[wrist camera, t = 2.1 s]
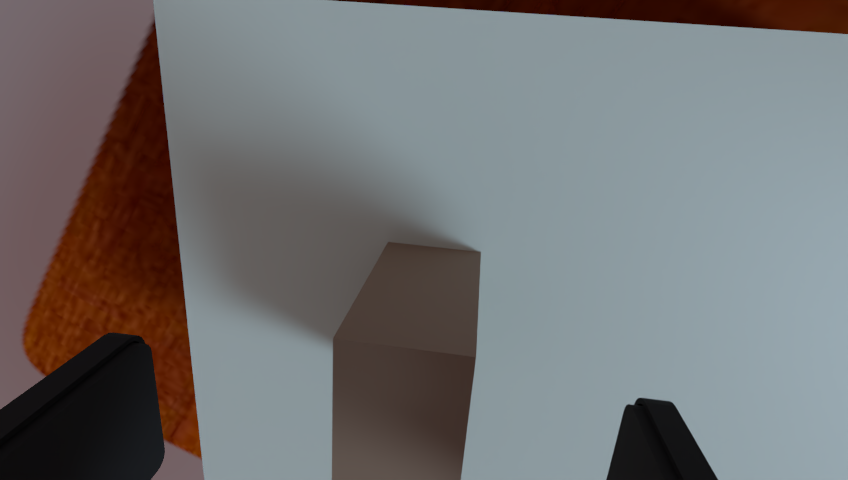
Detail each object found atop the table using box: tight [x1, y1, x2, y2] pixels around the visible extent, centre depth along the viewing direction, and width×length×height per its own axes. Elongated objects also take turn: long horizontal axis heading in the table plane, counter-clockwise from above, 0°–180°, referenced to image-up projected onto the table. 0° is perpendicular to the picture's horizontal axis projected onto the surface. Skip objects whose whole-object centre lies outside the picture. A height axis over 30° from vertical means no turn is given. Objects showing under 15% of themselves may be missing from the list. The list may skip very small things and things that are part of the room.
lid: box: [153, 0, 848, 480], centre depth 12 cm, size 21×16×6 cm
